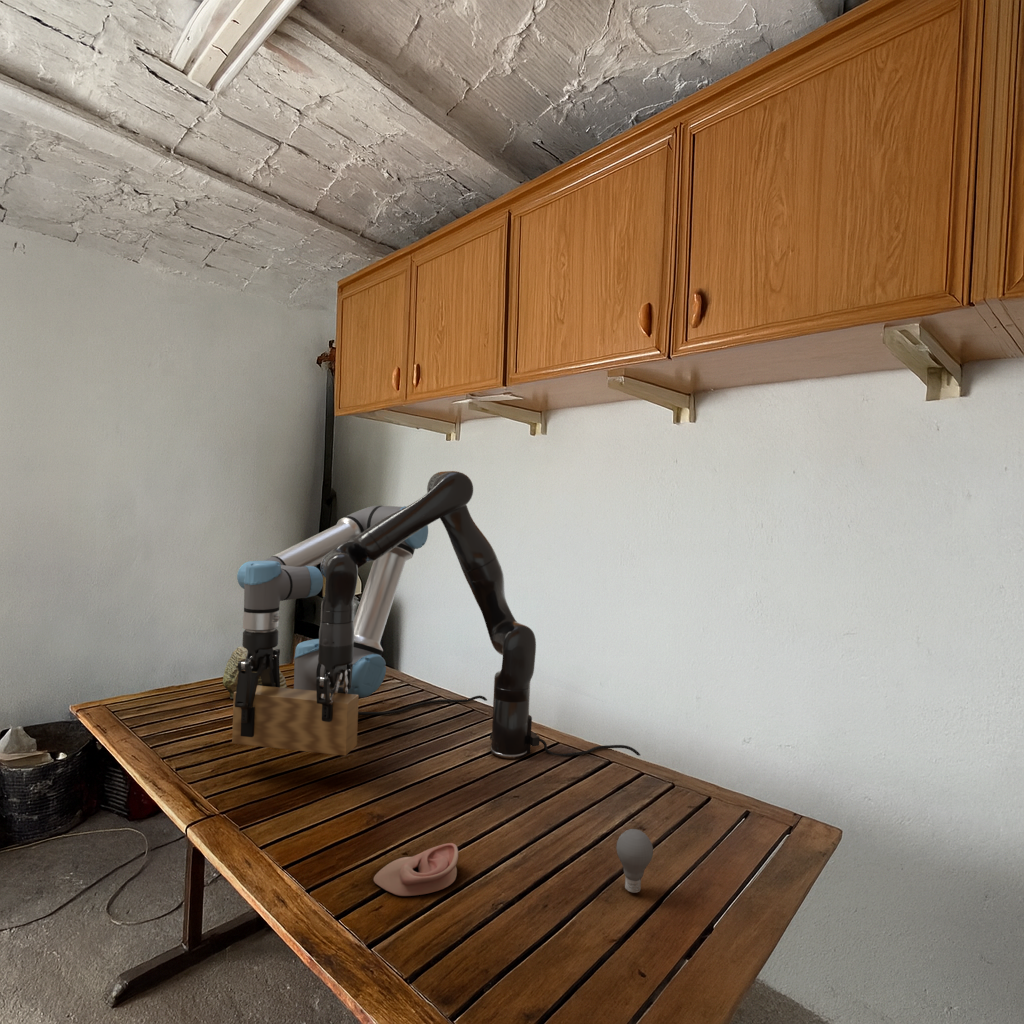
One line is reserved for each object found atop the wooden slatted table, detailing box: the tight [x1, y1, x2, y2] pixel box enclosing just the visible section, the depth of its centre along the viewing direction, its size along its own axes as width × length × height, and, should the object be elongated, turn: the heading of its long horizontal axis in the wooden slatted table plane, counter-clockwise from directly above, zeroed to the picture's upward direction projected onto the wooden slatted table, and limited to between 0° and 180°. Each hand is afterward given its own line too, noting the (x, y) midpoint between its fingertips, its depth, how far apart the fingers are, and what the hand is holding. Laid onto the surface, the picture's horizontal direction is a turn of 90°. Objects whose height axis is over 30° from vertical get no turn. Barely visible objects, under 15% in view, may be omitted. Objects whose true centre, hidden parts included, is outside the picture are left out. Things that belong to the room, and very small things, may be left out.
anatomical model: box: [373, 842, 459, 897], centre depth 107 cm, size 13×4×12 cm
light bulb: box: [615, 828, 654, 894], centre depth 106 cm, size 6×6×10 cm
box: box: [231, 685, 360, 757], centre depth 142 cm, size 27×6×12 cm, turn 81°
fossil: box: [222, 646, 288, 699], centre depth 198 cm, size 9×18×15 cm, turn 132°
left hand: (257, 729), depth 144 cm, fingers open, 7 cm apart
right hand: (333, 715), depth 141 cm, fingers closed on box, 6 cm apart
